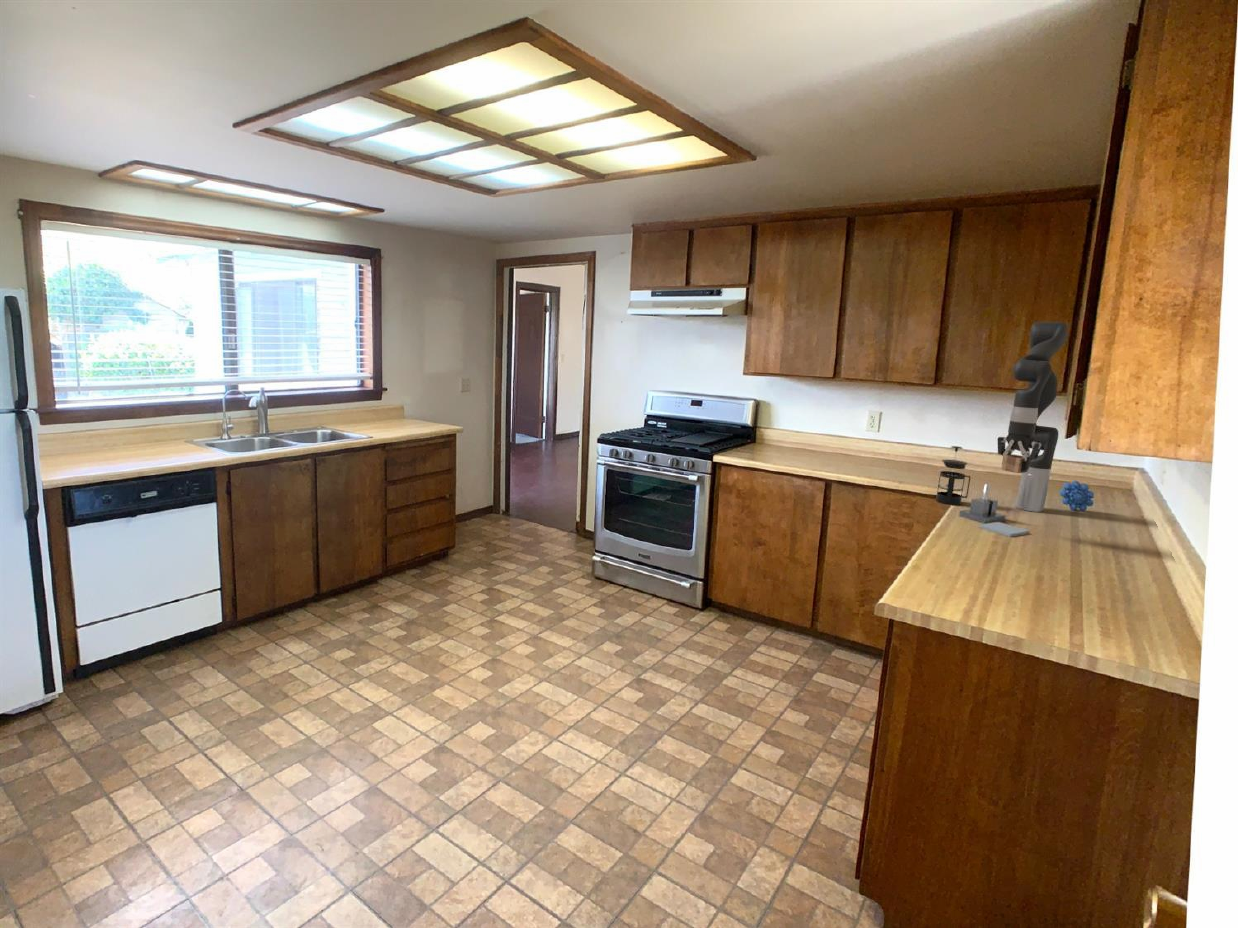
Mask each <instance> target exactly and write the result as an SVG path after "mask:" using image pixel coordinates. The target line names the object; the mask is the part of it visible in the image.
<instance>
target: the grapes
mask: <svg viewBox="0 0 1238 928" xmlns="http://www.w3.org/2000/svg"><path fill="white" fill-rule="evenodd" d="M1062 488H1063V489H1060V490H1059V495H1060V496H1061V497H1062V499H1061V501H1062V502H1061V503H1062V504H1063V505H1066V506H1069V508H1070V510H1072V511H1077V510H1080V511H1081V512H1085V511H1087V509H1088V507H1092V506H1094V503H1095V502H1094V501H1093V499H1094V497H1095V493H1094V492H1093V491H1092V490H1089V489H1090V487H1089V485H1088V484H1087V483H1082V484H1081V483H1080V482H1079V481H1078V480H1073V481H1071V483H1069V482H1065V483H1063V485H1062Z"/></svg>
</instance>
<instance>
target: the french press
mask: <svg viewBox="0 0 1238 928" xmlns="http://www.w3.org/2000/svg"><path fill="white" fill-rule="evenodd" d="M951 448H952V449H954V452H955V454H954V459H942V460H941V461H942V462H943V465H944V466H945V467H946V468H949V469H952V470H951V471H949V470H947V471H946V470H942V471H940V472H939V479H938V485H937V490H936V491H937V492H936V497H935V499H934V500H935V502H936V503H939V504H942V505H946V506H961V505H962V498H963V499H967V498H968V495H969V489H970V482H971V475H966V474H965V473H962V472H955V469H956V470H965V469H966V466H967V465H968V462H966V461H962V460H958V459H956V458H957V453H958V451H959V450H960V449H963V447H961V446H956V445H951ZM941 477H942V478H946V479H948V484H940V481H941ZM966 478H968V481H967V482H968V483H967V489H966V495H963V491H964V484H965V479H966ZM955 480H963V482H962V487H961V486H957V485H955ZM939 488H940V489H942V490H946V491H939ZM955 491H956V492H959V491H961V494H959V493H955Z"/></svg>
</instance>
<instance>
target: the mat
mask: <svg viewBox="0 0 1238 928" xmlns="http://www.w3.org/2000/svg"><path fill="white" fill-rule="evenodd" d="M978 528H979V529H982V530H987V531H989V532H993V533H996V534H999V535H1002V536H1004V537H1005V536H1006V537H1008V538H1011V537H1012V538H1013V537H1016V536H1023V535H1028V534H1030V530H1027V529H1026V528H1021V527H1017V526H1014V525H1011V524H1006V523H1003V522H1001V521H998V522H992V523H982V524H978Z"/></svg>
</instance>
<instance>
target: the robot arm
mask: <svg viewBox="0 0 1238 928" xmlns="http://www.w3.org/2000/svg"><path fill="white" fill-rule="evenodd" d="M1068 328H1069V327H1068V325H1067V323H1066V322H1063V321H1036V322H1034V323H1033V324H1032V325H1031V328H1030V332H1029V351H1028V353H1027V355H1025V356H1023V357H1021V358H1019V360H1018V361H1017V362H1016V363H1015V364H1014V366H1013V369H1012V376H1013V378H1014V379H1015V380H1016V381H1019V382H1024V383H1025V382H1027V383H1028V384H1027V388H1019V389H1018V390H1016V392H1015V394H1014V402H1013V407H1012V410H1011V413H1010V420H1009V424H1008V431H1007V433H1008V435H1007V436H998V437H997V454H998V455H1001V456H1002V459H1003V458H1004V455H1013V452H1015V451H1018V452H1020V454H1021V456H1023V460H1024V461H1023V462H1022V468H1021V472H1025V473H1021V477H1020V481H1019V482H1020V483H1019V488H1018V492H1017V493H1018V494H1017V497H1016V498H1017V499H1016V502H1015V503H1016V504H1015V507H1016V508H1017V509H1019V510H1023V511H1029V512H1036V513H1040V512H1043V511H1044V510H1045V505H1046V499H1047V494H1048V489H1049V486H1048V485H1049V481H1050V476H1051V471H1052V466H1053V461H1054V457H1055V452H1056V447H1057V443H1058V440H1059V430H1058V428H1056V427H1051V426H1043V425H1038V424H1037V421H1038V419H1039V417H1040V416H1041V415H1042V414H1043V412H1044V411H1046V409H1048V407H1050V405H1051V404H1052V403H1053V402H1054V401H1055V400H1056V398H1057V396H1058V395H1057V394H1058V383H1059V380H1058V377H1057V374H1055V372H1054V370H1053V369H1052V368H1053V367H1052V365H1051V363H1050V362H1051V360H1052V358H1053V356H1054V355H1055V354H1057V352H1059V350H1061V348H1063V347H1064V346H1065V343H1066V342H1067V338H1068V332H1069V331H1068V330H1069V329H1068ZM1006 443H1007V445H1006ZM1030 449H1031V450H1030ZM1041 451H1043V452H1042V454H1040V452H1041ZM1002 464H1003V461H1002V463H1001V465H1002ZM1026 471H1027V472H1026Z"/></svg>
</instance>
